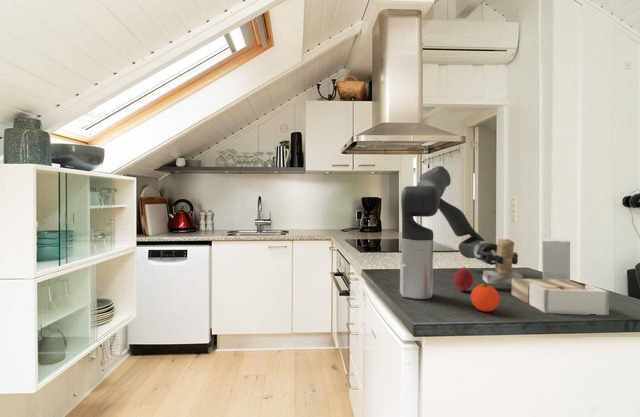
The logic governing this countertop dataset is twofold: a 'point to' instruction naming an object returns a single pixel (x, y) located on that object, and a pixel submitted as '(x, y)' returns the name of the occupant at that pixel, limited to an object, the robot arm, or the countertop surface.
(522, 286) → the tan wooden block
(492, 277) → the scraper
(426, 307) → the countertop surface
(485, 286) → the clementine
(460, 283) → the onion
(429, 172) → the robot arm
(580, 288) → the tile right
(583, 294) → the box
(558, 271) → the skincare box
